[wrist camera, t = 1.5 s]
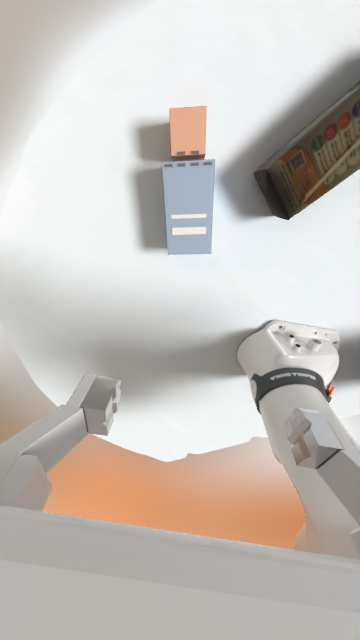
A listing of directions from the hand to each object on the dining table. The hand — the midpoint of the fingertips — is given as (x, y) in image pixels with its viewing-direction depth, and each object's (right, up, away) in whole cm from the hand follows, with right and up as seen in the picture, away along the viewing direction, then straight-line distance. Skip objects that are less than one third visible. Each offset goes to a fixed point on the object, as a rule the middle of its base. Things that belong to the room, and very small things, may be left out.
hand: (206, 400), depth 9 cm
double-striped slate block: (0, +22, +24) cm, 33 cm away
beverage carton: (+20, +29, +19) cm, 40 cm away
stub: (0, +30, +20) cm, 36 cm away
